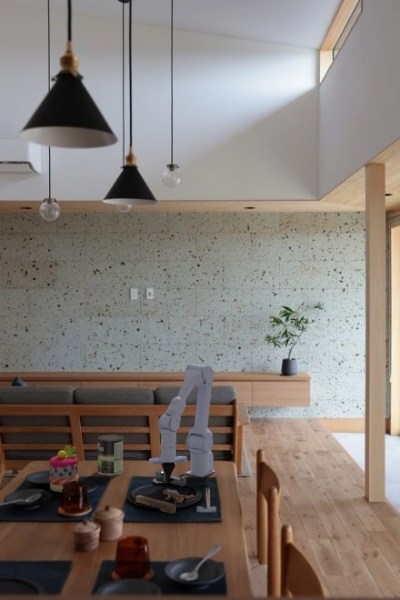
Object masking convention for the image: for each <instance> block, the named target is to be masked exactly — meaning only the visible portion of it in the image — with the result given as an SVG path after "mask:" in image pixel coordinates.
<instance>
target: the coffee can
mask: <svg viewBox="0 0 400 600" xmlns="http://www.w3.org/2000/svg"><path fill="white" fill-rule="evenodd" d="M123 448H124V436H123V435H121V434H114V433H113V434H111V433H109V434H103V435H99V436H97V474H99V475H101V476H108V477H109V476H117V475H120V474H123V471H124V470H123V469H124V468H123V467H124V466H123V462H124V461H123V458H124V457H123V455H124V449H123Z"/></svg>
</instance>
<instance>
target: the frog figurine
mask: <svg viewBox="0 0 400 600" xmlns="http://www.w3.org/2000/svg"><path fill="white" fill-rule="evenodd" d="M162 492H163V495H167V496H166V497H165V498H164V499H166V500H170V499H171V500H172V499H175V500H177V501H175V503H176V502H181V503H182V502H183V500H184V499H183V498H185V499H189V498H192V497H195V495H193V494H191V495H190V496H189V495H187V494H183V495H182V494H181V495H180V493H179V492H178V491H177V490H173V489H170V488H168V487H167V488H166V489H163V491H162Z"/></svg>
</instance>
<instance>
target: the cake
mask: <svg viewBox="0 0 400 600" xmlns="http://www.w3.org/2000/svg"><path fill="white" fill-rule="evenodd" d="M63 449H64V450H63ZM63 449H61V450H59V451H58V452H57V455H55V456H53V457H50V459H49V468H50V471H49V472H50V477H49V478H48V480H49V481H50V483H49V484H50V486H49V488H50V490H51V491H53V492H57V493H63V492H62V489H63V484H64V483H67V482H71V481H77V482H78V481H79V477H80V476H79V474H78V473H79V470H78V465H79V460H78V457H77V454H75V452H76V447H75V446H72V447H71V446H70V445H65V446H64V448H63Z"/></svg>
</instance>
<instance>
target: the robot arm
mask: <svg viewBox="0 0 400 600" xmlns="http://www.w3.org/2000/svg"><path fill="white" fill-rule="evenodd" d="M214 374H215V371H214V369H213V367H212V366H211V365H210V364H209V365H208V364H207V365H206V364H197V363H193V362H192V363H189V364H188V365H187V366H186V368H185V371H184V380H183V382H182V385H181V387H180V388H179V392H178V393H177V396H175V397H173V398H172V400H171V402H170V404H169V405H168V407H167V409H166V411H165V413H164V414H162V415H161V416H160V417H159V419H158V422H157V426H158V428H159V433H160V457H153V458H149V459H148V464H149V466H154V465H161V467H162V470H164V472H165V476H166V482H167V483H166V484H169V483H170V477H171V475H172V474H173V472H174V469H175V467H176V463H188V456H186V455H177V431H178V429H179V428H180V423H181V420H182V419H181V418H182V417H181V416H182V415H183V412H184V411H185V408H186V406H187V402H186V401H187V399H188V396H190V393H191V392H192V390H193V389H194V387H195V386H196V387H197V396H196V397H197V398H196V407H195V408H196V409H195V415H194V416H195V417H194V423H193V424H194V426H193V427H192V428H191V429H189V431H188V435H187V437H186V441H185V442H186V448H188V449H189V450H188V451H189V452H190V470H189V471H186V472H185V475H186V474H187V475H190V476H193V477H194V476H196V477H200V478H203V477H206V476H208V475H210V474H212V473H215V472H216V470H214V454H213V452H212V451H211V450H212V448H213V447H214V440H213V436H214V435H213V434H214V433H213V432H212V431H211V430H210V429H209V428H208V427H209V416H210V409H211V408H210V407H211V396H212V386H213V383H214ZM170 484H171V483H170Z"/></svg>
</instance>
